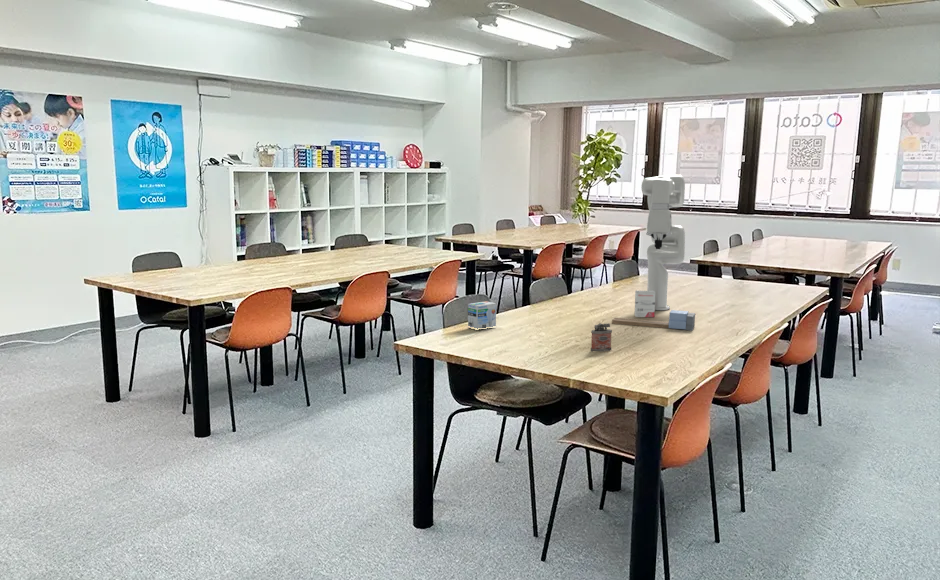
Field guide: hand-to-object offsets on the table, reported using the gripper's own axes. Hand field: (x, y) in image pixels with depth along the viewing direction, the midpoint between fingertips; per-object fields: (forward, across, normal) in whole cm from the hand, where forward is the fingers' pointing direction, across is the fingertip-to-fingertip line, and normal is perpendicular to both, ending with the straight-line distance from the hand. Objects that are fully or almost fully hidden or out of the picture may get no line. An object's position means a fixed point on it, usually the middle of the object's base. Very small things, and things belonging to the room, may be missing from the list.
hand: (658, 248), depth 312 cm
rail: (+32, -1, +13) cm, 35 cm away
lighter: (+32, +9, +67) cm, 75 cm away
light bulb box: (+32, +64, +49) cm, 87 cm away
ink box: (+32, +6, -7) cm, 34 cm away
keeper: (+32, -12, +13) cm, 37 cm away
